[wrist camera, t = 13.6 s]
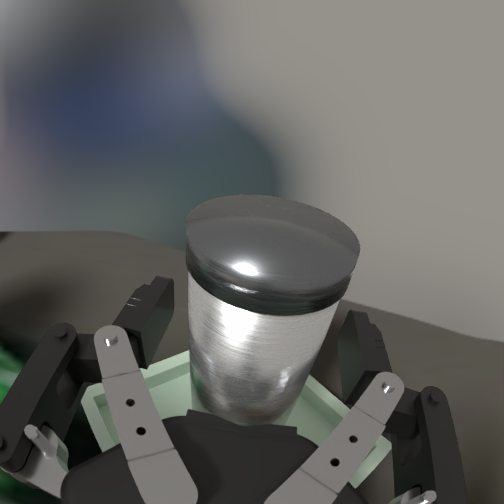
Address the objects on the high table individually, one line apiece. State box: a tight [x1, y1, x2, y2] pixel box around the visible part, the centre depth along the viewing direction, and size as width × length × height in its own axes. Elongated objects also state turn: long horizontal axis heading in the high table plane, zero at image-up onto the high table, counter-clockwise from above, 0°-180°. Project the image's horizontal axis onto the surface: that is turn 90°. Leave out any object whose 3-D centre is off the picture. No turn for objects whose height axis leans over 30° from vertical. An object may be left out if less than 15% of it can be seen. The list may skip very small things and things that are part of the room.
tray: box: [81, 350, 392, 489], centre depth 17 cm, size 16×16×2 cm
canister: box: [186, 195, 360, 426], centre depth 13 cm, size 5×5×16 cm
